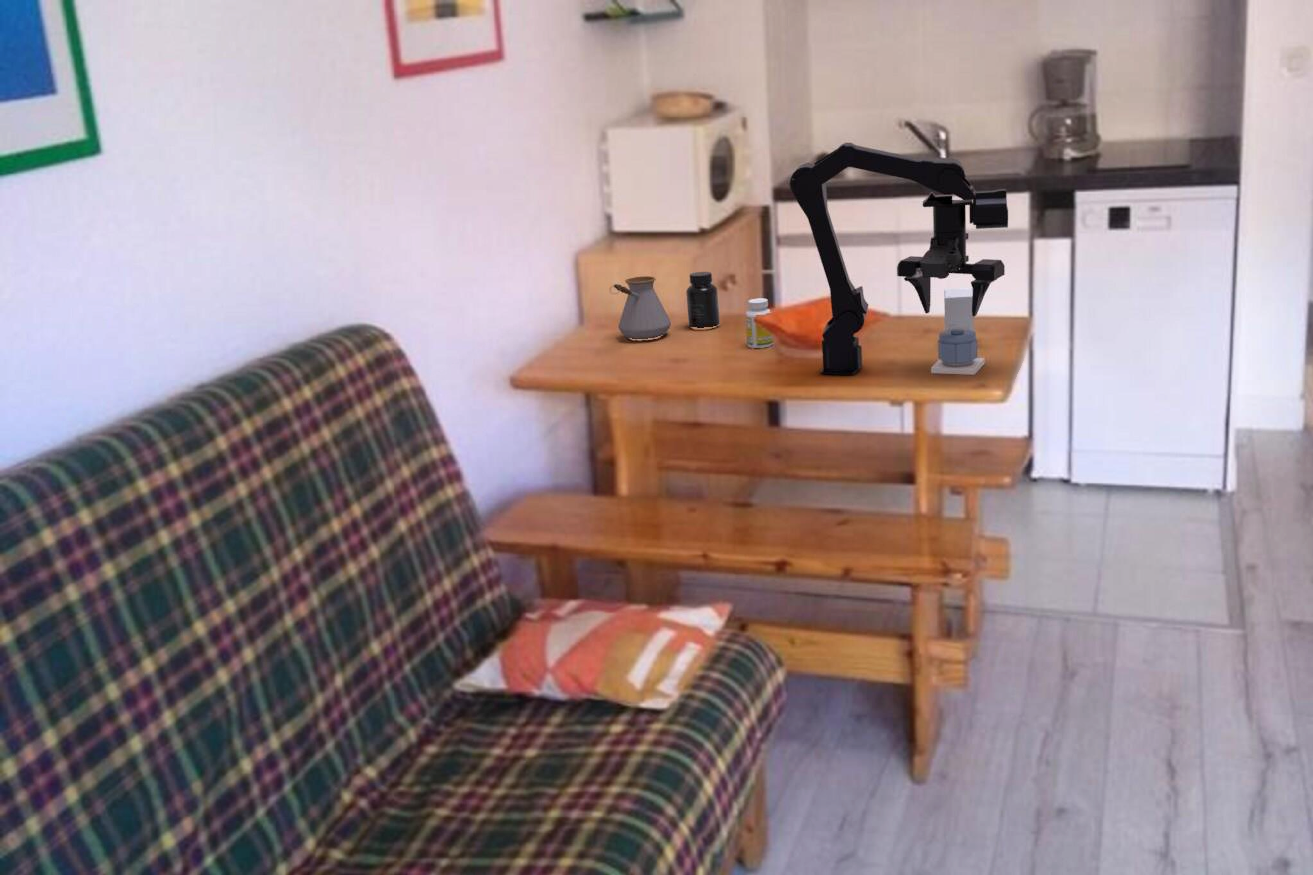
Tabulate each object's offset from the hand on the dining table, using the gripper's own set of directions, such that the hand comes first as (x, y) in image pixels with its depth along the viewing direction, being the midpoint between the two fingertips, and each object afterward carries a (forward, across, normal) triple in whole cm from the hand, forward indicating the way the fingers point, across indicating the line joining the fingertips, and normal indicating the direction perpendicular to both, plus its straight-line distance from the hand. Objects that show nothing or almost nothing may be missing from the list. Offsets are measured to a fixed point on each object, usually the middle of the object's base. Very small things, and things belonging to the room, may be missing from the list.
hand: (950, 314), depth 252 cm
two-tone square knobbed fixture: (+10, +1, 0) cm, 10 cm away
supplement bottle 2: (+11, -44, +5) cm, 45 cm away
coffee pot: (+11, -71, 0) cm, 72 cm away
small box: (+10, -5, +16) cm, 20 cm away
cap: (+8, +1, 0) cm, 8 cm away
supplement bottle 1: (+11, -65, +16) cm, 67 cm away
